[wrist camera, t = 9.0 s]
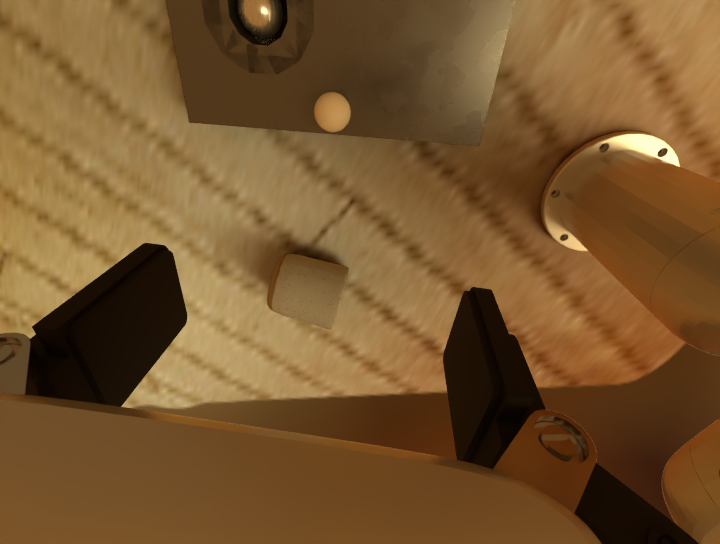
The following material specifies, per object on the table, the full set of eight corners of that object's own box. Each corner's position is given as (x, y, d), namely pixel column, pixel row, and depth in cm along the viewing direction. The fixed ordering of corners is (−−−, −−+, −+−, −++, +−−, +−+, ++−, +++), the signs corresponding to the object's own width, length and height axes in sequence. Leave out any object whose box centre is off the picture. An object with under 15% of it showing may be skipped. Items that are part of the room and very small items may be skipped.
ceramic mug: (285, 239, 41) (266, 276, 34) (351, 255, 41) (346, 294, 35) (276, 305, 47) (259, 347, 40) (334, 318, 47) (327, 361, 41)
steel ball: (289, -16, 26) (246, -23, 24) (292, 39, 28) (252, 37, 26) (268, -13, 28) (226, -19, 27) (272, 38, 30) (233, 35, 29)
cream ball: (352, 91, 29) (350, 95, 26) (350, 129, 30) (348, 137, 28) (317, 88, 29) (311, 92, 26) (317, 126, 30) (311, 133, 28)
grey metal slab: (529, -117, 24) (550, -139, 21) (470, 137, 33) (479, 146, 31) (162, -145, 24) (132, -171, 21) (205, 115, 34) (189, 122, 31)
